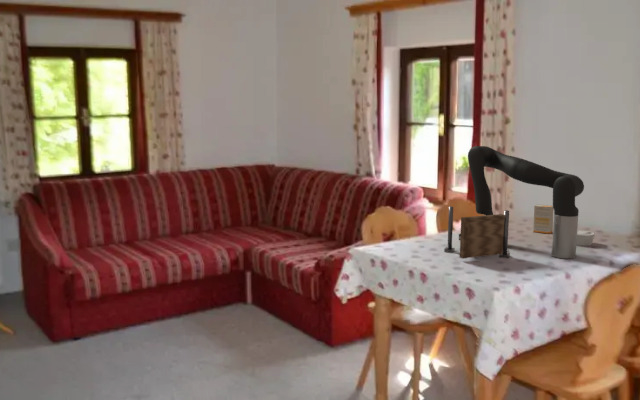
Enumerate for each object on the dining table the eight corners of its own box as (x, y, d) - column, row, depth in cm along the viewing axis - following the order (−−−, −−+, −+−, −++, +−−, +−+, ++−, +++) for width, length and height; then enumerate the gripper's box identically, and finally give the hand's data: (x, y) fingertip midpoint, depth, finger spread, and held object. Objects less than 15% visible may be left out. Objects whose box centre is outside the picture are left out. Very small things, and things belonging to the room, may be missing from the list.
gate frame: (509, 256, 272) (511, 210, 269) (508, 258, 268) (510, 211, 265) (446, 249, 282) (447, 205, 279) (444, 251, 279) (445, 207, 276)
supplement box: (552, 232, 319) (554, 205, 317) (550, 234, 315) (551, 206, 313) (535, 230, 323) (536, 203, 321) (532, 232, 319) (534, 205, 317)
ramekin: (596, 247, 288) (597, 235, 287) (569, 246, 290) (569, 234, 289) (591, 241, 299) (592, 230, 298) (565, 240, 301) (565, 229, 300)
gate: (499, 252, 271) (501, 214, 268) (503, 254, 269) (505, 215, 266) (459, 257, 263) (461, 217, 261) (463, 258, 261) (464, 218, 259)
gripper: (462, 224, 282) (453, 231, 266) (494, 226, 277) (486, 234, 261) (461, 241, 283) (452, 250, 268) (493, 244, 278) (485, 253, 262)
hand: (469, 242), depth 264 cm, fingers closed
